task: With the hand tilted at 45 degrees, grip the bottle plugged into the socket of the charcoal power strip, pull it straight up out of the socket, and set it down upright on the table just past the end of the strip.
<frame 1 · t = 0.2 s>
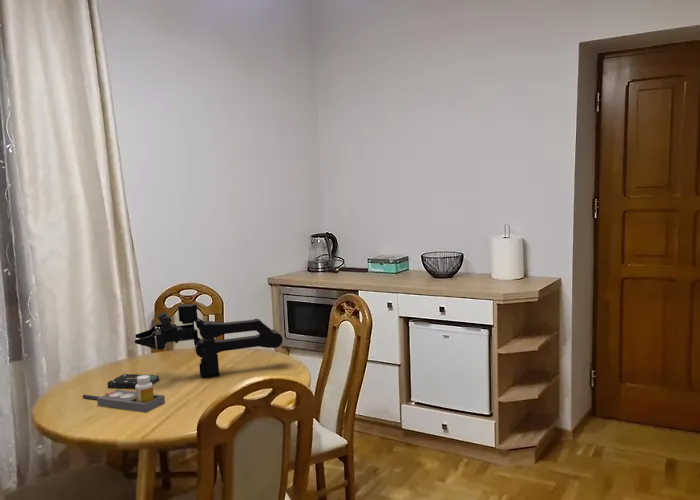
hand: (135, 338, 227), 17 cm above the table, tool horizontal, fingers open, 9 cm apart
disk drive: (134, 386, 229), on the table
supplement bottle: (145, 406, 205), resting in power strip
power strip: (131, 404, 207), on the table
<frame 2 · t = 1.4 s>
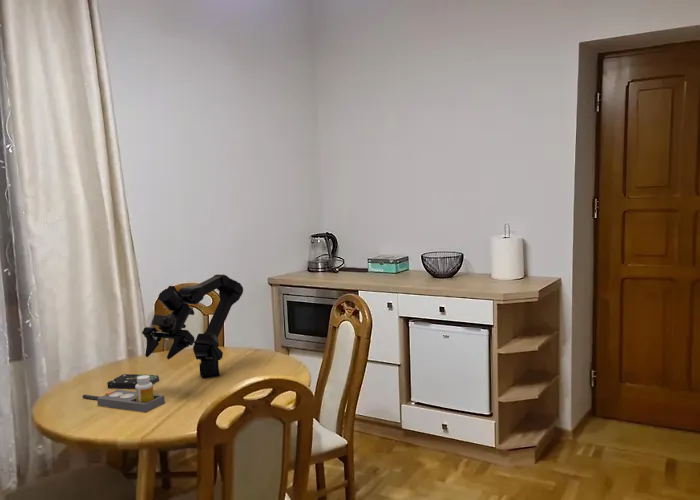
hand: (156, 357, 210), 14 cm above the table, tool tilted 45°, fingers open, 9 cm apart
nothing on the table moved.
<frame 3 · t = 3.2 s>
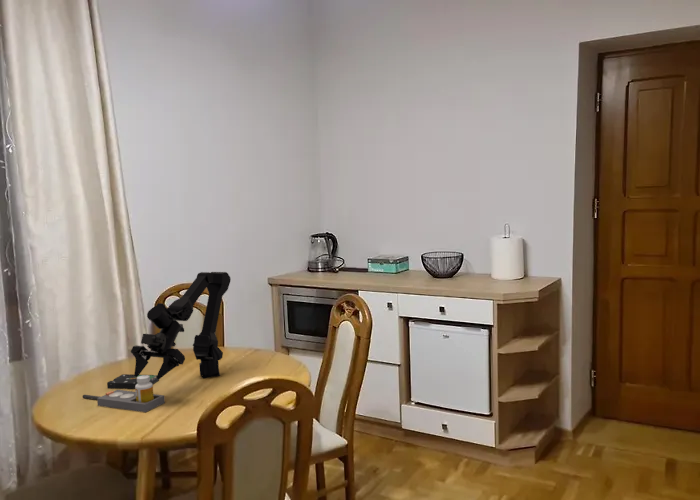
hand: (146, 377, 205), 9 cm above the table, tool tilted 45°, fingers open, 9 cm apart
nothing on the table moved.
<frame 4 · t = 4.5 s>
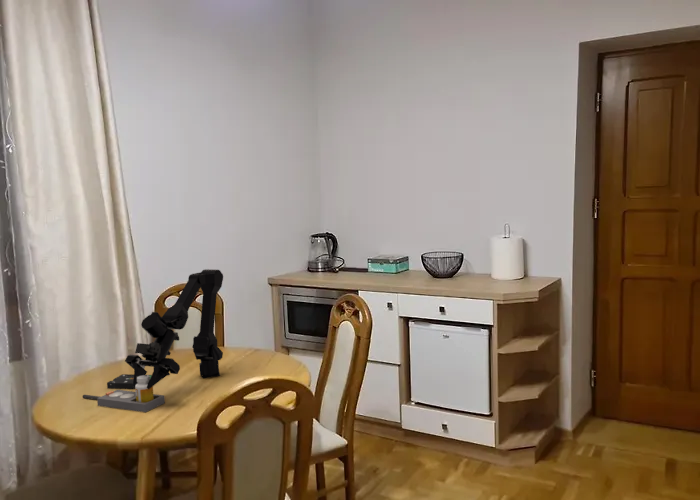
hand: (140, 387, 203), 7 cm above the table, tool tilted 45°, fingers closed on supplement bottle, 5 cm apart
supplement bottle: (145, 406, 204), resting in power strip, touching gripper
everything else where it was.
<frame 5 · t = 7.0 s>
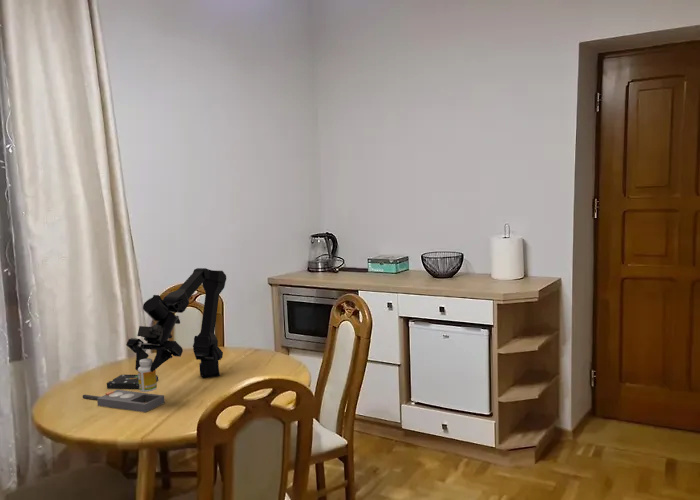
hand: (143, 370, 201), 12 cm above the table, tool tilted 45°, fingers closed on supplement bottle, 5 cm apart
supplement bottle: (148, 390, 204), point 5 cm above the table, touching gripper
everything else where it was.
when the fingers open (7 cm above the table, at t = 9.3 s): supplement bottle stays where it is, on the table.
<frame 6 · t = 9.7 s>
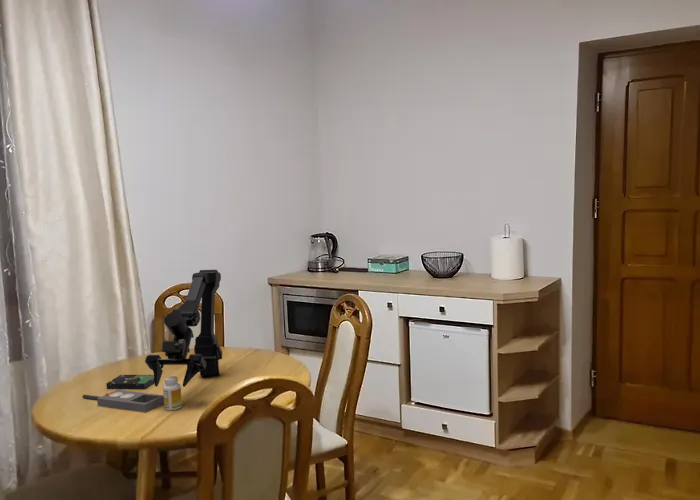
hand: (169, 386, 200), 8 cm above the table, tool tilted 45°, fingers open, 9 cm apart
supplement bottle: (173, 408, 202), on the table
everything else where it was.
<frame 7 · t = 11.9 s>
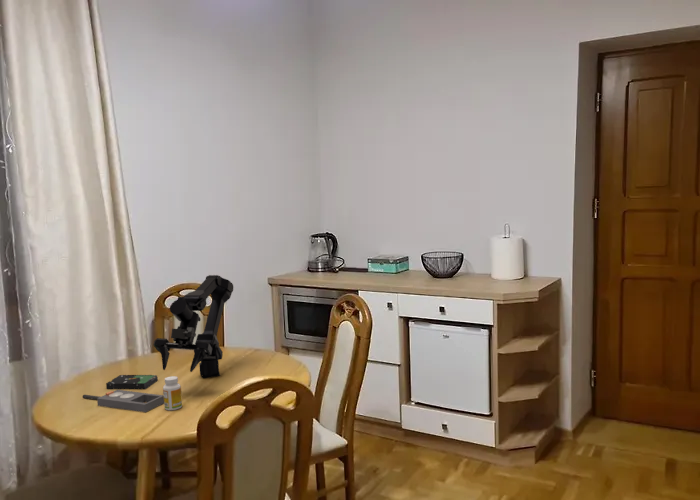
hand: (177, 370, 210), 9 cm above the table, tool tilted 40°, fingers open, 9 cm apart
nothing on the table moved.
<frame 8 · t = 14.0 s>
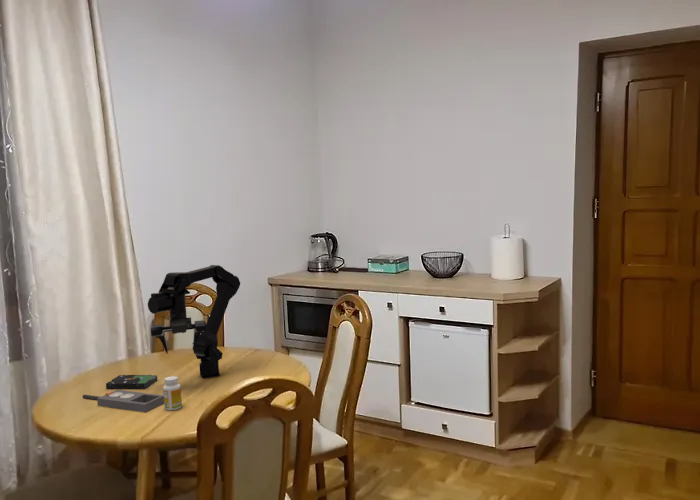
hand: (180, 351, 224), 12 cm above the table, tool pointing down, fingers open, 9 cm apart
nothing on the table moved.
at the end: supplement bottle inside the target area (0.3 cm from its centre), on the table; supplement bottle tilted 0°; the gripper is holding nothing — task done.
